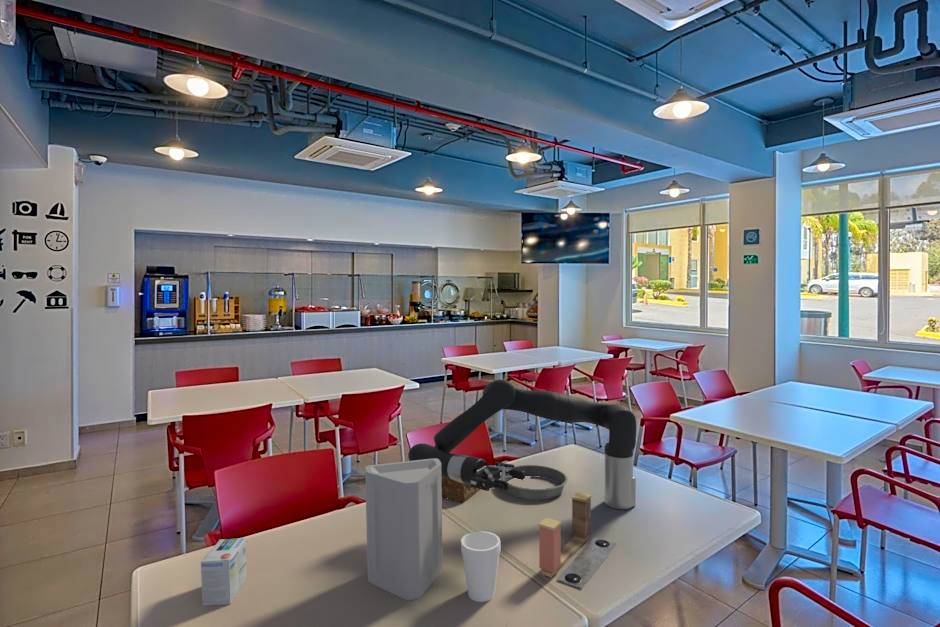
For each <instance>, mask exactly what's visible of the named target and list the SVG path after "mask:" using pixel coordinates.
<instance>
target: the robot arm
mask: <svg viewBox="0 0 940 627" xmlns="http://www.w3.org/2000/svg"><path fill="white" fill-rule="evenodd" d="M503 410H505V411H506V410H507V411H508V410H509V411H517V412H521V413H526V414H529V415H533V416H535V417H539V418H543V419H547V420H550V421H555V422H559V423H565V424H567V423H568V424H574V423H575V424H576V423H585V424H586V423H587V424H588V423H589V424H592V425H596V426H598V427H602V428H603V429H606V430H608V432H609V437H608V442H606V443H605V444H604V504H605V505H606V506H607V507H609V508H612V509H615V510H629V509H632V507H636V494H637V493H636V491H637V490H636V486H637V484H636V483H637V482H636V477H635V476H634V450H635V448H636V442H637V419H636V418H637V417H636V416H635V414H634V412H632V411H631V410H629V409H628V408H626V407H625V406H622V405H620V404H616V403H604V402H597V401H596V402H594V401H589V400H587V399H583V398H581V397H577V396H573V395H569V394H566V393H561V392H556V391H549V390H548V391H547V390H533V389H531V390H528V389H522V388H519V387H515V386H514V385H513V383H511V382H510V381H509V380H506V379H496V380H493V381H491V382H489V383H488V384H486V385H485V386H484V388H483V390H482V396H480V398H479V399H478V400H477V401H476V402H475V403H473V405H471V406H470V407H469V408H468V409H467V410H465V411H463V412H462V413H461V414H459V415H457V416H456V417H455V418H454V419H452V420H451V421H449V422H448V423H447V424H446V425H445V426H444V427H443V428H441V429H440V430H439V431H438V432H436V434H434V436H433V440H434V446H433V445H431V444H428V443H423V442H422V443H416V444H414V445H413V446H412V447H410V449H409V451H408V456H407V457H408V461H414V460H424V459H433V458H437V459H439V460H440V462H441V477H445V478H449V479H453V480H455V481H458V482H461V483H465V484H469V485H471V487H475V488H478V489H480V490H482V491H485V492H488V491H490V489H491V490H494V489H498V490H502V491H506V492H507V490H508V489H509V483H508V482H507V481H503V480H501V479H505V478H506V477H512V478H517V479H521V480H523V479H524V478H525V472H524V471H521V470H516V469H514V467H515V465H514V464H510V463H506V462H500V461H496V462H495V465H494V464H493V465H491V464H490V465H488V464H487V462H486V460H485V459H483V458H481V457H480V458H479V457H475V456H470V455H465V454H457V453H452V451H453V450H454V449H455V448H457V446H459V445H460V444H461V443H462V442H464V440H465V439H466V438H468V436H469V435H471V434H472V433H473V432H475V430H476V429H478V428H479V427H480V426H481V425H482V424H483V423H485V422H486V421H487V420H488V419H490V418H491V417H493V416H494V415H496V414H497V413H499V412H500V411H503ZM508 470H509V471H508ZM501 473H502V475H501ZM505 473H506V474H505ZM500 475H501V476H500ZM483 483H484V484H485V485H484V486H483Z"/></svg>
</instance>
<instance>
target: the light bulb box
mask: <svg viewBox="0 0 940 627" xmlns="http://www.w3.org/2000/svg"><path fill="white" fill-rule="evenodd" d="M247 570H248V569H247V539H246V538H245V537H240V538H239V537H238V538H224V539H223V538H222V539H218V541H217V542H216V544H215V545H214V546H213V547H212V549H211V550H210V551H209V553H207V555H206V556H205V557H204V558H203V559H202V560H201V561H200V575H201V598H202V599H201V601H202V604H201V605H202V606H204V607H205V606H223V605H224V606H225V605H231V604H232V603H233V600H234V599H235V598H236V596H237V595H238V593H239V592H240V590H241V588H242V587H243V585H244V584H245V582H246V581H247V579H248V576H247V575H248V574H247V573H248V572H247Z"/></svg>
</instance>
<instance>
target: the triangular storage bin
mask: <svg viewBox="0 0 940 627" xmlns="http://www.w3.org/2000/svg"><path fill="white" fill-rule="evenodd" d="M364 471H365V474H364V475H365V511H366V512H365V516H366V517H365V519H366V520H365V521H366V523H365V524H366V564H367V566H366V569H367V572H366V573H367V580H368V582H369V583H370V584H372V585H373V586H375V587H378V588H380V589H382V590H384V591H386V592H388V593H390V594H392V595H394V596H397V597H399V598H400V599H403V600H405V601H413V600H414V601H415V600H418V599H420V598H421V597H422V596H423V595H424V594H425V593H426V591H428V589H429V588H430V587H431V585H432V584H433V582H434V581H435V580H436V578H438V576H440V574H441V572H442V571H443V569H444V568H443V567H444V566H443V562H444V561H443V559H444V558H443V557H444V556H443V504H442V503H443V500H442V499H443V498H442V478H441V462H440V460H439V459H437V458H433V459H424V460H414V461H409V460H408V461H398V462H397V461H395V462H389V463H379V464H378V463H377V464H371V465H366V466H365V470H364Z"/></svg>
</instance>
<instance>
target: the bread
mask: <svg viewBox="0 0 940 627" xmlns="http://www.w3.org/2000/svg"><path fill="white" fill-rule="evenodd" d="M441 478H442V499H443V498H444V499H446V498H448V499H449V500H451V501H452V500H453V501H455V500H456V502H457V501H460V502H459V503H463V502H464V503H466V502H467V500H469V499H471V498H472V497H473V496H475V495H476V494H477V493H479V491H480V490H481V489H478V488H475V487H471V485H469V484H465V483H461V482H458V481H455V480H453V479H449V478H445V477H441ZM483 486H485V484H484V483H483ZM448 499H447V500H448ZM465 501H466V502H465Z"/></svg>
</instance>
